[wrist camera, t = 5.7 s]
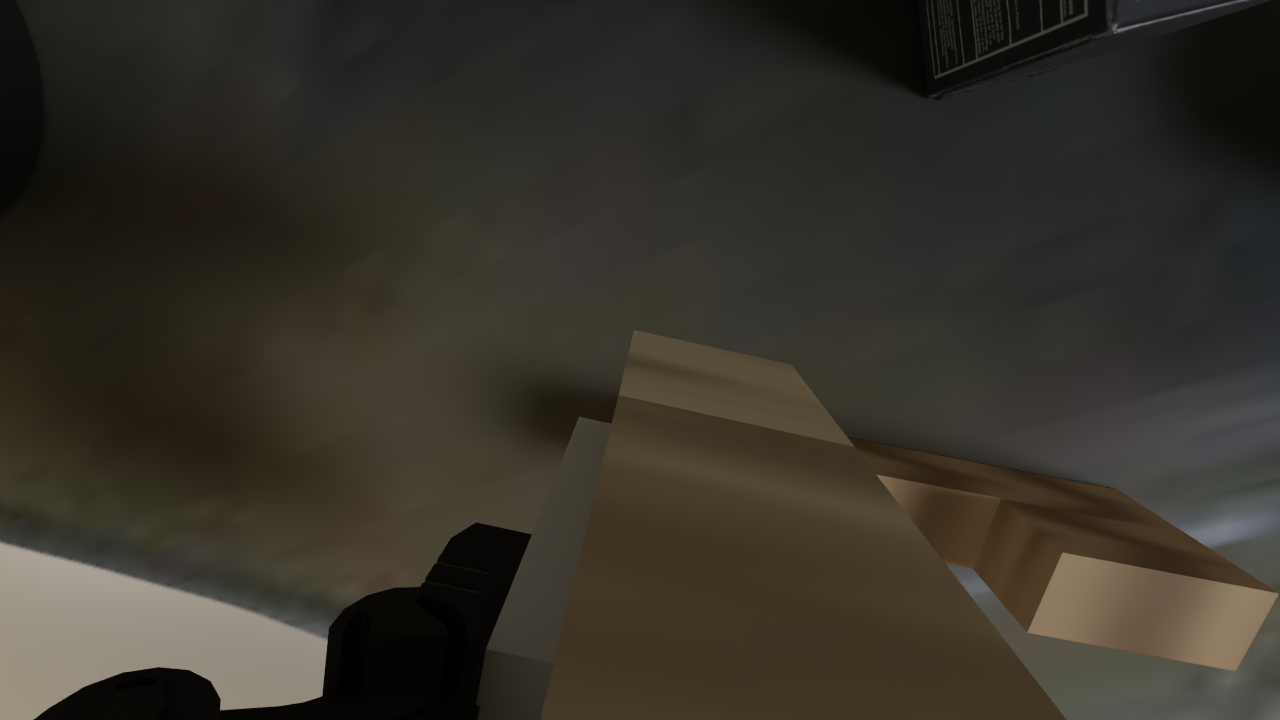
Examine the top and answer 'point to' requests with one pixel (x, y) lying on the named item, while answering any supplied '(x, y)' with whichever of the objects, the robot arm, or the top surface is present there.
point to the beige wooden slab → (762, 568)
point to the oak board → (1078, 558)
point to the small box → (1041, 34)
